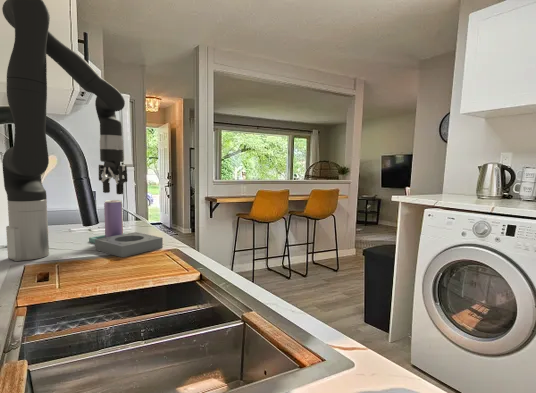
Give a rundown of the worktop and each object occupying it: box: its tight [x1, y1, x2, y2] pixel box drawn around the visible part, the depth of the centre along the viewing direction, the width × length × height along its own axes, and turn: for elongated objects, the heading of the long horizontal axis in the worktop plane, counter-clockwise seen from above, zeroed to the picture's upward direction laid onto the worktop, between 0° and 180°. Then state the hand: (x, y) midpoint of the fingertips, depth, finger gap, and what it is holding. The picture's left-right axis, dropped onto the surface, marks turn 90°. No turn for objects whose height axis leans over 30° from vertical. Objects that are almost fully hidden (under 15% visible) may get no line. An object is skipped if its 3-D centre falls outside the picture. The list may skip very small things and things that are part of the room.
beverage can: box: [103, 199, 124, 237], centre depth 115 cm, size 6×6×15 cm
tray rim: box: [88, 232, 126, 244], centre depth 116 cm, size 12×12×2 cm
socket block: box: [94, 231, 164, 258], centre depth 106 cm, size 15×15×4 cm
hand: (113, 193), depth 114 cm, fingers open, 8 cm apart
